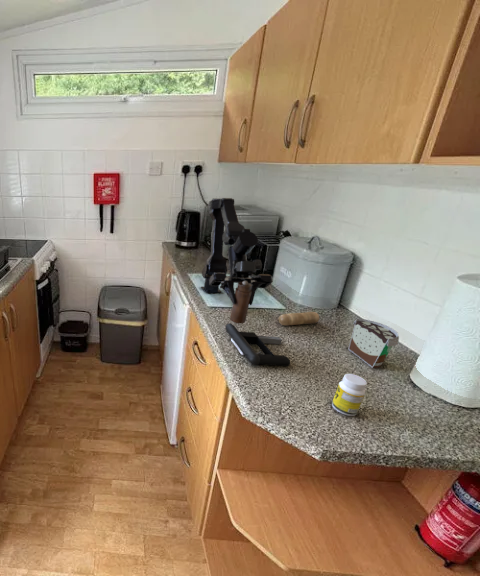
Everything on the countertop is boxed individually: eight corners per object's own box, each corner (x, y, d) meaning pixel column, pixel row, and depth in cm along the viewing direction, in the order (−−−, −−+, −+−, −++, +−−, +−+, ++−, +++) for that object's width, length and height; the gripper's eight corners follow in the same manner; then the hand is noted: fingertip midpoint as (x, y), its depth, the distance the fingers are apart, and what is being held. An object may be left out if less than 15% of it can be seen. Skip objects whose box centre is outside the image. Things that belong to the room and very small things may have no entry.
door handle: (270, 325, 104) (222, 322, 103) (307, 361, 85) (249, 357, 85) (267, 334, 105) (220, 330, 105) (303, 371, 86) (245, 367, 86)
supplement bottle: (334, 398, 75) (345, 369, 72) (358, 409, 72) (371, 379, 69) (329, 408, 72) (340, 378, 69) (354, 420, 69) (367, 389, 66)
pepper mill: (227, 317, 107) (234, 278, 102) (239, 316, 108) (247, 277, 103) (235, 324, 103) (243, 283, 97) (248, 322, 104) (257, 283, 98)
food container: (399, 371, 85) (414, 340, 82) (376, 371, 85) (390, 339, 82) (364, 346, 97) (376, 318, 93) (344, 346, 97) (355, 317, 93)
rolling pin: (282, 328, 107) (285, 317, 106) (274, 322, 111) (277, 312, 109) (320, 324, 110) (323, 314, 108) (311, 319, 113) (314, 309, 112)
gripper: (217, 248, 101) (221, 293, 95) (277, 250, 99) (285, 296, 93) (207, 264, 111) (210, 306, 105) (261, 266, 110) (268, 308, 104)
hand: (242, 304), depth 101 cm, fingers closed on pepper mill, 5 cm apart
